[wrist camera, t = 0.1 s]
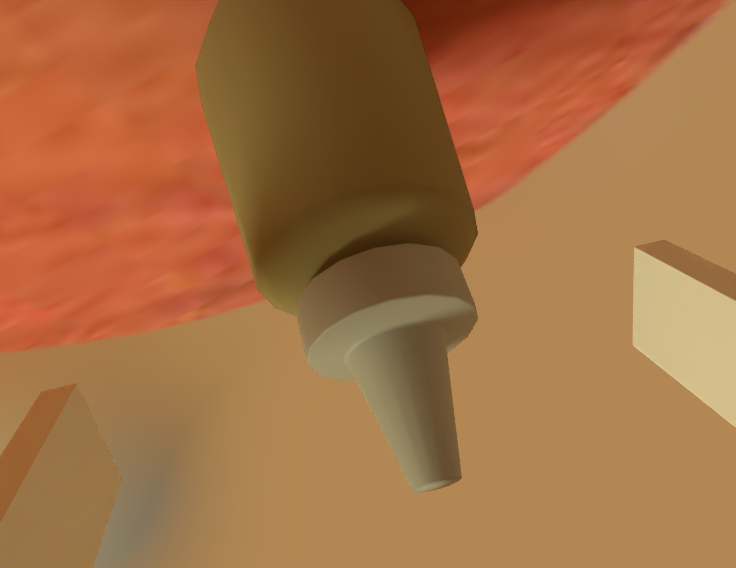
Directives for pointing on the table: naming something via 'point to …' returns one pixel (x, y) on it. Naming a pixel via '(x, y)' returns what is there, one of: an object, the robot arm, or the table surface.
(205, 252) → the table surface
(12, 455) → the robot arm
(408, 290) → the squeeze bottle
